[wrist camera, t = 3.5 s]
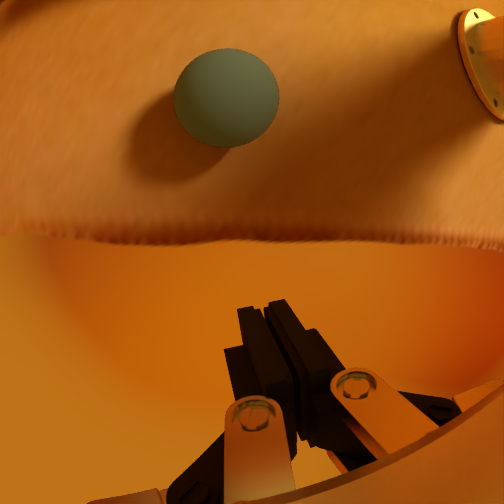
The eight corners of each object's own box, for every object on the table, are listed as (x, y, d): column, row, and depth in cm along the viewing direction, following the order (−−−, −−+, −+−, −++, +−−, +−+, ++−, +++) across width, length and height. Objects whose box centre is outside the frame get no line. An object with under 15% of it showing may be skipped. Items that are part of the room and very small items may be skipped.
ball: (260, 61, 16) (283, 31, 11) (271, 143, 18) (299, 139, 13) (172, 71, 16) (163, 41, 11) (183, 155, 18) (177, 155, 12)
